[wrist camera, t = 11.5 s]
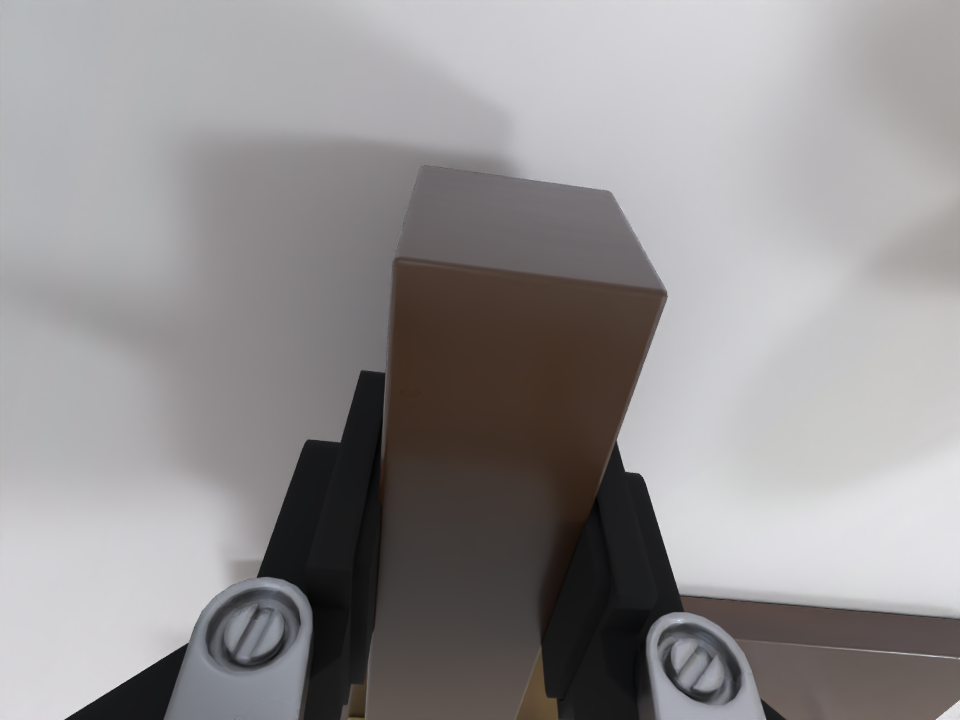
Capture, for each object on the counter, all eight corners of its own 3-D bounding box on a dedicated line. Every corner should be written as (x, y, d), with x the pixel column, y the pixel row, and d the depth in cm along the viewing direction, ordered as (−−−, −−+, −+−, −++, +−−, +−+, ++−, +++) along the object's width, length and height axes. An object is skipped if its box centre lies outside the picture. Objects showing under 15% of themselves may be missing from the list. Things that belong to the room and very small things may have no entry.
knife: (419, 163, 8) (391, 257, 6) (612, 190, 9) (672, 293, 6) (368, 796, 21) (352, 920, 18) (448, 801, 21) (443, 923, 18)
